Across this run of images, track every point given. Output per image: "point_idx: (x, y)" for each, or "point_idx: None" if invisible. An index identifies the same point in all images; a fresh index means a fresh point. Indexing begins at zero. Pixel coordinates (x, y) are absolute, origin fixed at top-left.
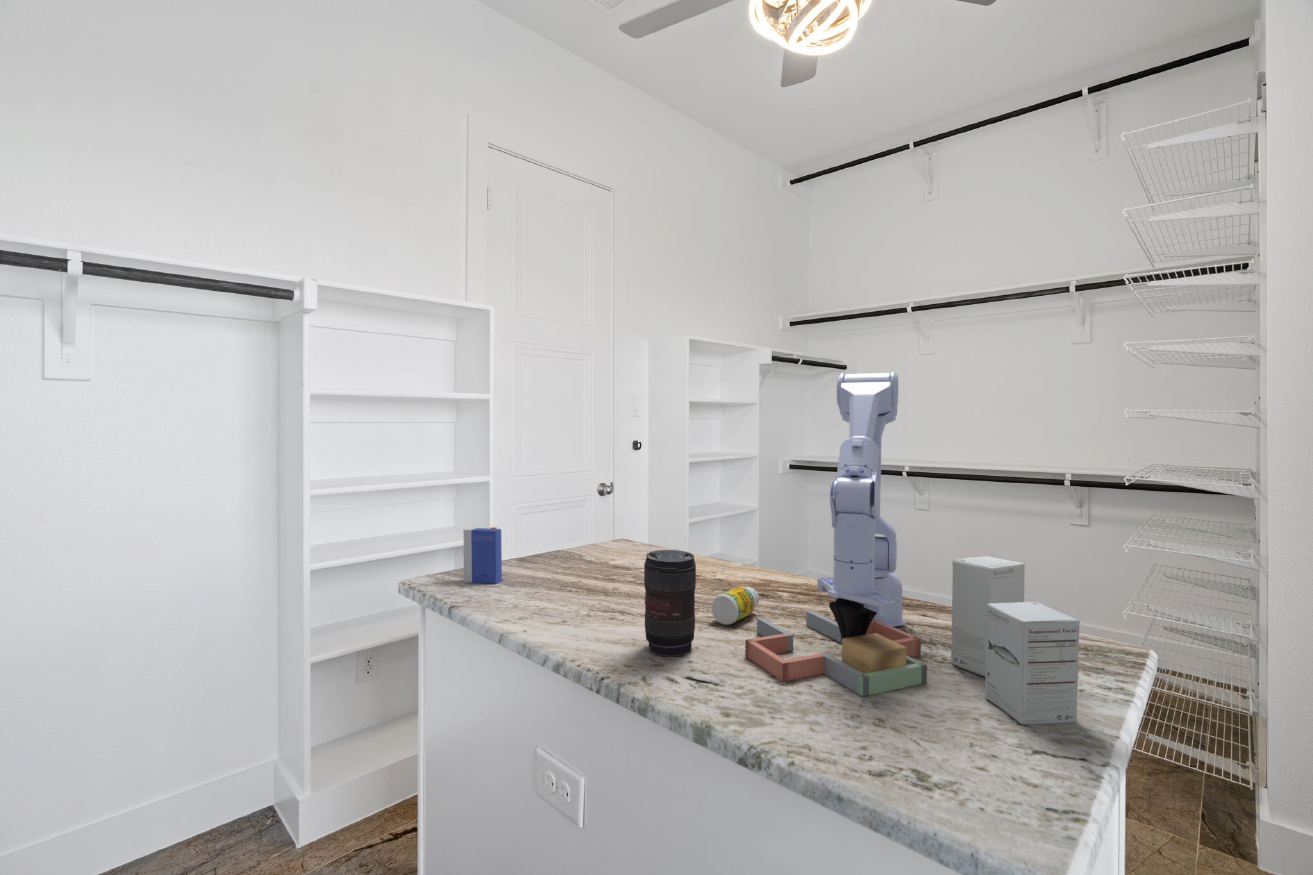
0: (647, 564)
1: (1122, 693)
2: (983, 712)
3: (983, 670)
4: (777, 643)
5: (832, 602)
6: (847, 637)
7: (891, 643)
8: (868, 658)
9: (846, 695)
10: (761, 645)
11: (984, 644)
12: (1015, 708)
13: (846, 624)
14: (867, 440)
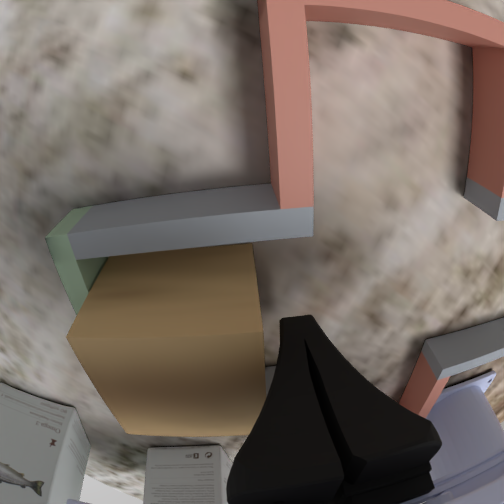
0: None
1: (107, 482)
2: (26, 374)
3: (155, 455)
4: (493, 145)
5: (427, 452)
6: (291, 356)
7: (163, 426)
8: (86, 318)
9: (87, 164)
10: (475, 33)
11: (151, 496)
12: (3, 398)
13: (294, 403)
14: None
